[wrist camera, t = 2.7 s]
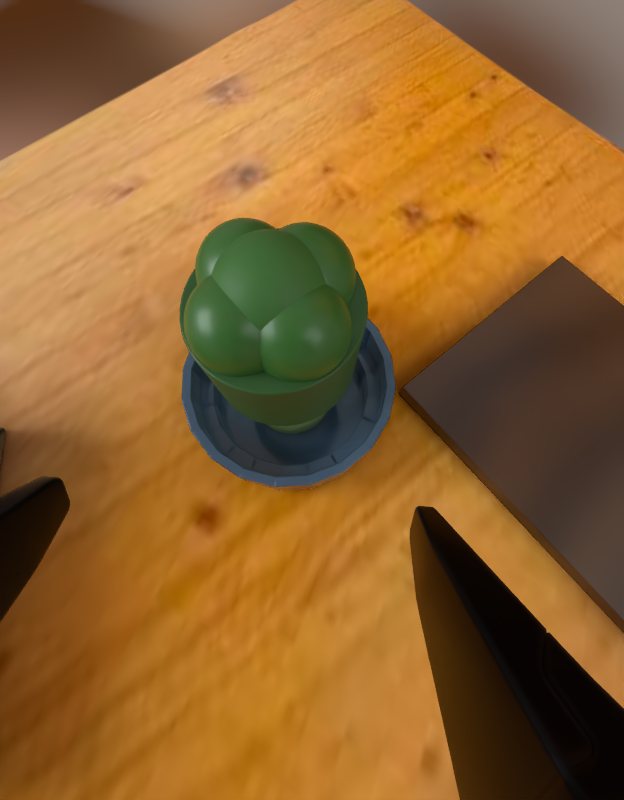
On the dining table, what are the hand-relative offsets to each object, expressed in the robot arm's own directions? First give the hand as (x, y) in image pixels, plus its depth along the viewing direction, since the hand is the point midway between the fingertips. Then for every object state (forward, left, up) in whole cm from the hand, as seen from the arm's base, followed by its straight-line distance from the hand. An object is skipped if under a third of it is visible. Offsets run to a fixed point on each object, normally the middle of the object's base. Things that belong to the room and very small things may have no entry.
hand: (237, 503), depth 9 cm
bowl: (+5, -5, -13) cm, 14 cm away
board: (-10, -18, -13) cm, 24 cm away
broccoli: (+5, -5, -12) cm, 14 cm away
